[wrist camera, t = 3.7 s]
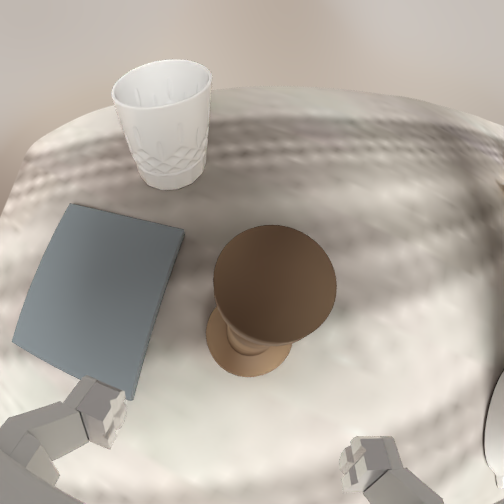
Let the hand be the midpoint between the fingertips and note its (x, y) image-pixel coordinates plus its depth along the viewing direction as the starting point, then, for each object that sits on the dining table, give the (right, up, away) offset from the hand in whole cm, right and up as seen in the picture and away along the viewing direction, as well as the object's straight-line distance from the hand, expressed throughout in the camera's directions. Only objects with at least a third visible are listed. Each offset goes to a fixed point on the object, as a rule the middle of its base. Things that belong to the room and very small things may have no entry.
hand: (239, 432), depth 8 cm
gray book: (-12, +3, +13) cm, 18 cm away
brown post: (0, 0, +12) cm, 12 cm away
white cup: (-7, +15, +19) cm, 25 cm away
